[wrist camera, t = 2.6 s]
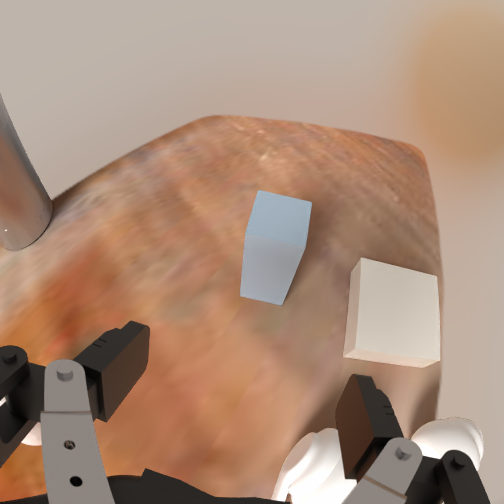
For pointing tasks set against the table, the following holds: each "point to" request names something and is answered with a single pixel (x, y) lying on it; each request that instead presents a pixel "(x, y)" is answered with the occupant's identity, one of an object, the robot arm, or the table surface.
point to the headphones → (331, 466)
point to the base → (392, 315)
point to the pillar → (273, 246)
